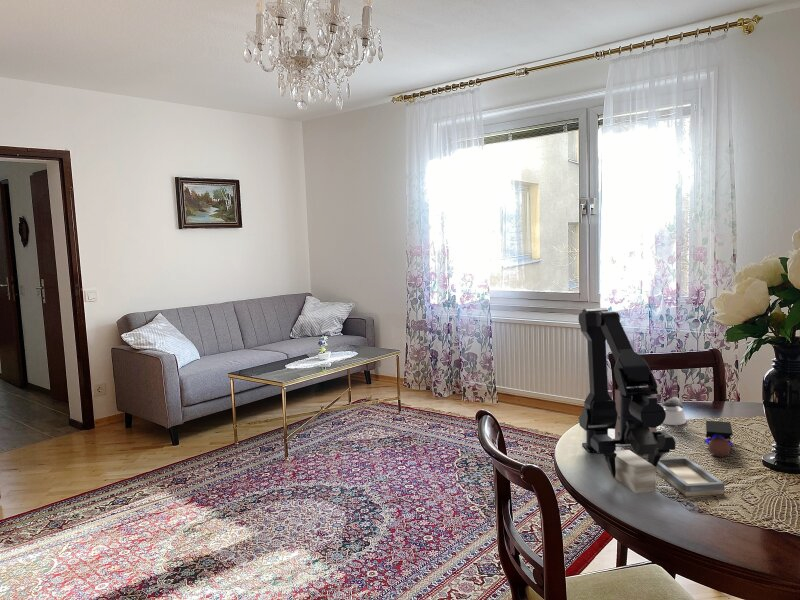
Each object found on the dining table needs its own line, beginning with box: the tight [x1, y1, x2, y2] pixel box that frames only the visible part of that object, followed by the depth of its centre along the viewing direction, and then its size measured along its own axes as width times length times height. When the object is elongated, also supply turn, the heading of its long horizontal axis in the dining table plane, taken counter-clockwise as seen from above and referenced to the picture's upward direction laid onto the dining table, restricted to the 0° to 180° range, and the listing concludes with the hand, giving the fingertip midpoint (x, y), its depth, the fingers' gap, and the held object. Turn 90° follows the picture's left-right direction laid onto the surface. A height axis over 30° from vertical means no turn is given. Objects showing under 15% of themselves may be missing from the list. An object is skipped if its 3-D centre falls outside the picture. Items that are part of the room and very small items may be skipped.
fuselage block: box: [614, 449, 657, 494], centre depth 142 cm, size 11×5×6 cm, turn 11°
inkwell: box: [661, 396, 687, 426], centre depth 180 cm, size 9×18×10 cm, turn 172°
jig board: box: [655, 456, 725, 497], centre depth 142 cm, size 16×9×2 cm, turn 3°
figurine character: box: [704, 420, 734, 457], centre depth 161 cm, size 7×8×15 cm
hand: (632, 475), depth 142 cm, fingers open, 9 cm apart
